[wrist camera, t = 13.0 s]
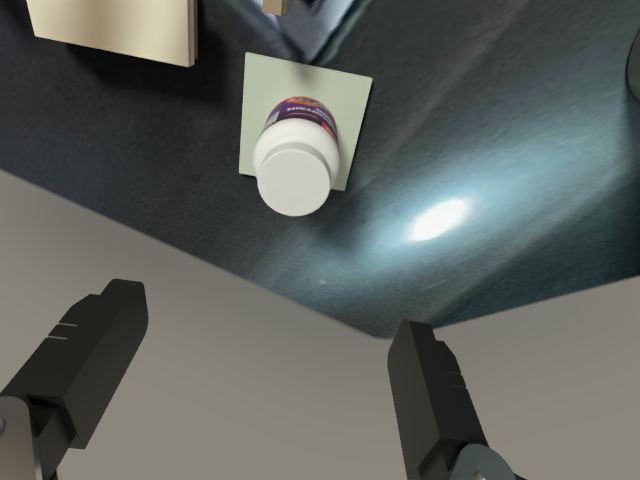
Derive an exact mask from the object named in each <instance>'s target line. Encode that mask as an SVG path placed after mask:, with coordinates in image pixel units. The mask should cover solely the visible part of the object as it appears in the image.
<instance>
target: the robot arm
mask: <svg viewBox="0 0 640 480" xmlns="http://www.w3.org/2000/svg"><path fill="white" fill-rule="evenodd" d="M627 72H628V82H629V86H630V88H631V91H632V93H633V95H634V96H635V97H636V98H637V99H638V100H639V101H640V32H639V34H638V36H637V38H636V40H635V42H634V45H633V48H632V51H631V54H630V57H629V63H628V71H627ZM147 326H148V310H147V303H146V296H145V289H144V285H143V283H142V282H136V281H128V280H121V279H113V280H111V281H110V283H109V284H108V285H107V286H106V288H105V289H104V290H103V292H102V293H101V294H100V295H94V294H89V295H88V296H86V297H85V298H83V299H82V300H80V301H79V302H77V303H76V304H74V305H73V306H72V307H71V308H70V309H69V310H68V311H67V313H66V314H65V315H64V316H63V317H62V319H61V320H60V321H59V324H58V325H56V326H55V327H54V329H53V330H52V331H51V332H50V333H49V335H48V338H45V339H44V341H43V342H42V343H41V344H40V346H39V347H38V348H37V349H36V351H35V352H34V353H33V354H32V356H31V357H30V358H29V359H28V360H27V361H26V363H25V364H24V365H23V367H22V368H21V369H20V370H19V371H18V373H17V374H16V375H15V376H14V377H13V379H12V380H11V381H10V382H9V384H8V385H7V386H6V387H5V388H4V389H3V391H2V392H1V393H0V480H62V478H61V472H60V466H59V464H60V462H61V460H62V459H63V457H64V455H65V453H66V451H67V450H68V448H76V449H85V448H86V446H87V444H88V442H89V440H90V438H91V436H92V435H93V433H94V431H95V429H96V427H97V425H98V423H99V421H100V419H101V417H102V415H103V414H104V412H105V410H106V408H107V406H108V404H109V402H110V400H111V399H112V397H113V395H114V393H115V391H116V389H117V387H118V385H119V383H120V382H121V380H122V378H123V376H124V374H125V372H126V370H127V368H128V367H129V364H130V363H131V361H132V359H133V357H134V355H135V353H136V351H137V349H138V347H139V346H140V344H141V342H142V340H143V338H144V336H145V333H146V330H147ZM388 372H389V377H390V383H391V389H392V394H393V400H394V406H395V412H396V417H397V423H398V429H399V434H400V440H401V446H402V451H403V457H404V463H405V468H406V474H407V479H408V480H526V479H524V478H522V477H520V476H518V475H516V474H515V473H513V471H512V470H511V468H510V467H509V465H508V464H507V463H506V461H505V460H504V459H503V458H502V457H501V456H500V455H499V454H498V453H496V452H495V451H494V450H492V449H491V448H490V447H489V445H488V443H487V441H486V438H485V436H484V433H483V430H482V428H481V425H480V422H479V419H478V417H477V414H476V411H475V409H474V406H473V403H472V401H471V398H470V395H469V392H468V390H467V389H466V385H465V382H464V379H463V376H462V375H461V371H460V368H459V365H458V363H457V360H456V357H455V355H454V354H453V353H452V352H451V350H450V349H449V348H448V346H447V345H446V344H445V342H444V341H437V340H436V339H435V336H434V333H433V330H432V327H431V325H430V324H429V323H428V322H423V321H415V320H408V319H404V320H403V321H402V323H401V325H400V327H399V330H398V332H397V334H396V336H395V338H394V340H393V343H392V344H391V347H390V349H389V353H388Z"/></svg>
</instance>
